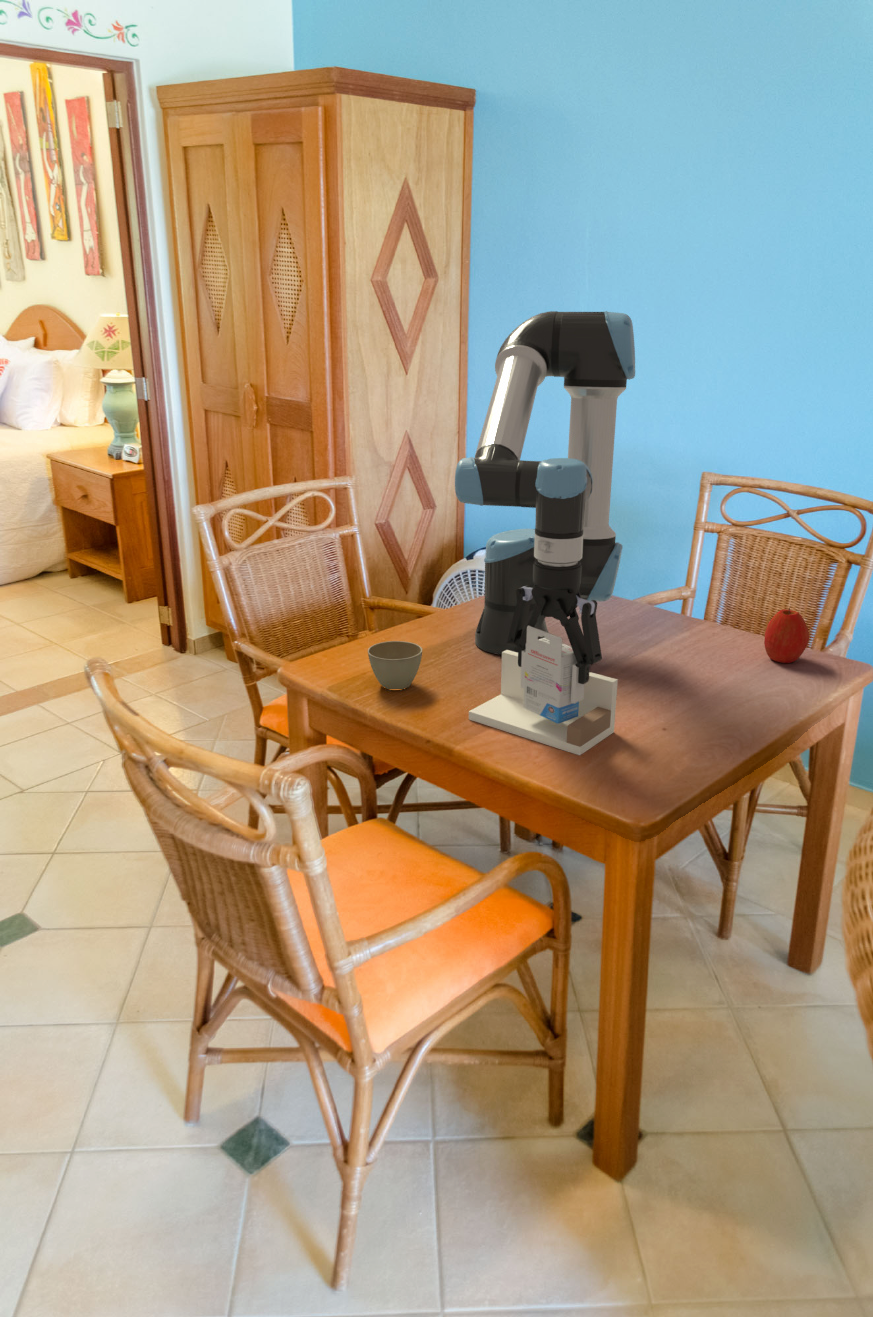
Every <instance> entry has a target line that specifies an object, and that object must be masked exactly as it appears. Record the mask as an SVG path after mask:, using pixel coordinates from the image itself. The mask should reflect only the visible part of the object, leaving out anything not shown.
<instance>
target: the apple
mask: <svg viewBox="0 0 873 1317" xmlns="http://www.w3.org/2000/svg"><path fill="white" fill-rule="evenodd" d="M790 608H791V607H789V608H788V609H786V608H785V609H780V610H779V611H777V612H776V613H775V614H774V615H773V617H772V618H771V619H770V620H769V622H768V623H767V627H766V629H765V632H764V640H763V642H764V643H763V644H764V649H765V652H766V655H767V656H768V657H769V659H770V660H772V661H774V662H777V663H782V664H791V663H792V662H795V661H797V660H798V659H799V658H800V657H801V656H802V655H803V653H804V651H805V650H806V649H807V647H808V643H809V641H810V633H809V632H810V631H809V627H808V626H807V623H806V621H805V619H804V617H803V616H802V614H800V613H799V611H796V610H792V609H790Z"/></svg>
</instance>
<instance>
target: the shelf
mask: <svg viewBox="0 0 873 1317" xmlns="http://www.w3.org/2000/svg"><path fill="white" fill-rule="evenodd" d="M500 677H501V678H500V679H501V680H500V694H498V695H497V696H495V697H493V698H491V699H489V700H487V701H485V702H484V703H482V704H480V705H478V706H476V707H475V708H471V710H469V711H468V720H470V721H472V722H476V723H478V724H482V725H485V726H489V727H491V728H494V729H497V730H500V731H504V732H507V733H510V734H513V735H516V736H519V737H521V738H523V739H524V738H525V739H528V740H531V741H534V742H537V743H541V744H543V745H547V746H549V747H552V748H556V749H559V750H561V751H565V752H569V753H571V754H573V755H576V756H581V755H583V754H584V753H585V752H587V751H589V750H590V749H592V748H593V747H595V746H596V745H597V744H599V743H600V742H601V741H603V740H604V739H606V738H608V737H609V736H610V735H612V734H613V733H614V732H615V723H616V709H617V708H616V707H617V696H618V695H617V692H618V681H619V679H617V678H614V677H610V676H607V675H603V674H598V673H595V672H592V671H591V672H590V671H589V680H588V682H587V683H585V684H584V699H582V700H580V701H579V711H578V717H575V718H572V719H570V720H567V721H565V722H562V723H559V724H557V723H555V722H553V721H551V720H549V719H547V718H545V717H542V716H540V715H538V714H536V713H534V712H531V711H529V710H527V709H525V708H524V688H521V667H519V666H518V653H517V652H513V651H510V650H505V651H503V652H502V655H501V675H500Z"/></svg>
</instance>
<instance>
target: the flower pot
mask: <svg viewBox="0 0 873 1317" xmlns="http://www.w3.org/2000/svg"><path fill="white" fill-rule="evenodd" d="M367 655H368V659H369V663H370V667H371V669H372V671H373V674H374V676H375V678H376V680H377V681H378V683H379V684H380V685H382V686H383V687H385V688H387V689H404V688H407V687H408V688H409V687H410V686H411V685H412V683H413V681H414V679H415V677H416V676H417V673H418V672H419V669H420V665H421V662H422V656H423V647H422V646H420V645H419V644H417V643H414V642H410V641H405V640H404V641H403V640H402V641H401V640H391V641H390V640H389V641H382V642H378V643H374V644H372V645H371V646H369V647H368V649H367ZM382 686H381V687H382ZM383 687H382V688H383ZM408 688H407V689H408ZM404 690H405V689H404Z"/></svg>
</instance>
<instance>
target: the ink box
mask: <svg viewBox="0 0 873 1317" xmlns="http://www.w3.org/2000/svg"><path fill="white" fill-rule="evenodd" d="M548 632H549V631H548ZM548 632H545V631H542V630H539V629H536V628H534V627H531V626H527V640H526V652H525V682H524V708H525V709H527V710H529V711H531V712H534V713H536V714H538V715H540V716H542V717H545V718H547V719H549V720H551V721H553V722H555V723H557V724H559V723H562V722H565V721H567V720H570V719H572V718H575V717H578V711H579V701H578V702H577V703H575V704H574V703H571V687H572V668H573V664H575V663H577V661H576V658H575V655H574V652H573V650H572V647H571V645H567V644H566V643H563V638H562V637H561V636H559V635H556V634H552V633H550V632H549V633H548ZM538 636H540V637H543V636H544V637H545V638H542V639H538Z"/></svg>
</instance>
